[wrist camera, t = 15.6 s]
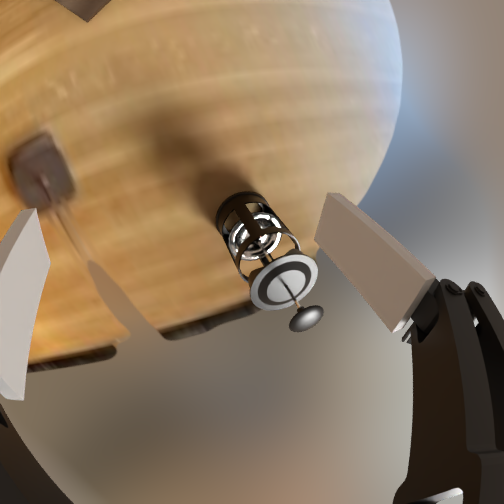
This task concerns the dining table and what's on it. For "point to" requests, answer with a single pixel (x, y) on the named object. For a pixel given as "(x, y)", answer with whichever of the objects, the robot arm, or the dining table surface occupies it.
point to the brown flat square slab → (84, 7)
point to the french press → (269, 259)
